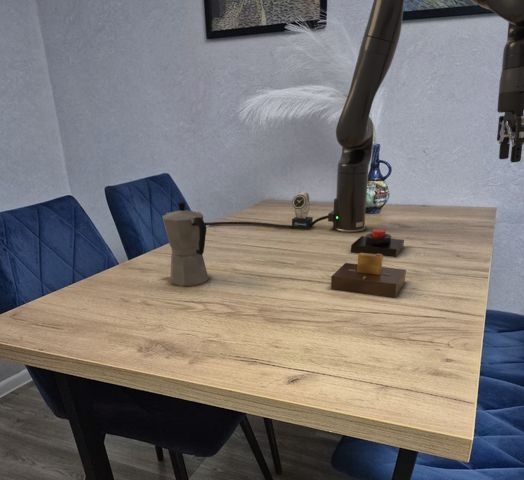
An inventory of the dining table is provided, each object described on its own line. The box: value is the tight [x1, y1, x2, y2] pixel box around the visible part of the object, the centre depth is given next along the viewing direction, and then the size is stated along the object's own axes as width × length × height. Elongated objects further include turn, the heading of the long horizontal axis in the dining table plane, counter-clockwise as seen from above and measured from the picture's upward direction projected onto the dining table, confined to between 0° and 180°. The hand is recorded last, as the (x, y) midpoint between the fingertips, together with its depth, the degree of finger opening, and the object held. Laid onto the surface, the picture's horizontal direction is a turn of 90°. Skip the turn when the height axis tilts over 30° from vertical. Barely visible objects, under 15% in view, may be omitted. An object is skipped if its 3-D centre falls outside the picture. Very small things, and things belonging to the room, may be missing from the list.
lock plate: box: [330, 262, 407, 298], centre depth 104 cm, size 14×10×3 cm
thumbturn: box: [357, 253, 384, 275], centre depth 102 cm, size 5×2×4 cm, turn 64°
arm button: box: [371, 228, 387, 238], centre depth 127 cm, size 4×4×2 cm
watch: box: [291, 191, 314, 231], centre depth 151 cm, size 6×8×11 cm
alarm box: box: [350, 232, 405, 258], centre depth 128 cm, size 12×10×4 cm
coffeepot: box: [161, 201, 209, 287], centre depth 107 cm, size 15×9×18 cm, turn 39°
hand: (509, 160), depth 121 cm, fingers open, 8 cm apart
